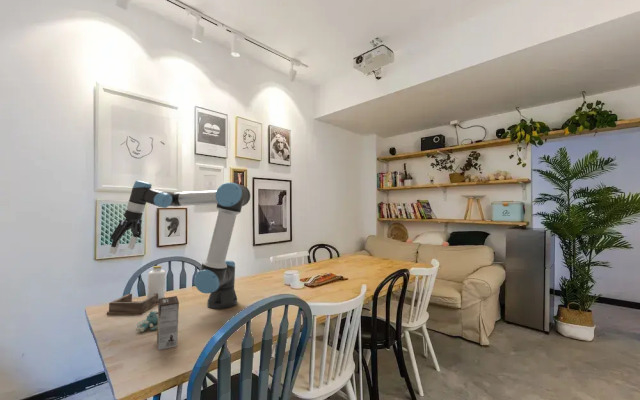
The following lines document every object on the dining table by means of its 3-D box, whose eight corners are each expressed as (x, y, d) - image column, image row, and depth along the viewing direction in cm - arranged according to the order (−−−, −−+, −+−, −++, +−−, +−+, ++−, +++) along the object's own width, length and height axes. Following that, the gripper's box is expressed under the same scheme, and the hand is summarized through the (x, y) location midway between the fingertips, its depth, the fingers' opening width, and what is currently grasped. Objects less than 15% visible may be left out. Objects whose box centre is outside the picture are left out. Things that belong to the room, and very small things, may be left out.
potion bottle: (156, 301, 153) (158, 268, 153) (143, 300, 154) (144, 267, 155) (167, 297, 161) (169, 265, 162) (155, 296, 163) (156, 264, 163)
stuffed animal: (126, 319, 114) (149, 304, 126) (128, 336, 115) (150, 319, 127) (149, 322, 112) (170, 306, 124) (151, 338, 113) (172, 321, 125)
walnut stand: (127, 303, 150) (128, 293, 150) (158, 303, 151) (159, 293, 151) (106, 314, 134) (107, 303, 134) (141, 314, 135) (142, 303, 135)
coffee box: (156, 340, 108) (158, 298, 109) (175, 336, 112) (176, 295, 112) (157, 350, 100) (159, 304, 101) (177, 346, 104) (179, 302, 104)
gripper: (142, 208, 156) (130, 244, 156) (109, 209, 131) (95, 252, 131) (155, 212, 156) (143, 248, 156) (125, 213, 131) (111, 257, 131)
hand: (122, 250), depth 144 cm, fingers open, 13 cm apart
